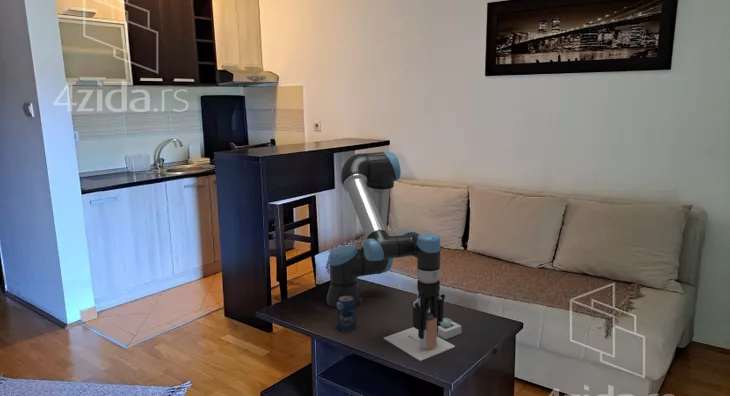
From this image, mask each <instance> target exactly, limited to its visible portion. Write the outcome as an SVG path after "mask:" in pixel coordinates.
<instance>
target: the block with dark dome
mask: <svg viewBox="0 0 730 396" xmlns="http://www.w3.org/2000/svg"><path fill="white" fill-rule="evenodd" d="M425 329H426V330H427V349H430V348H432V347H435V346H437V337H438V336H437V318H435V317H433V313H430V312H427V318H426V324H425Z"/></svg>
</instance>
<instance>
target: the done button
mask: <svg viewBox="0 0 730 396" xmlns="http://www.w3.org/2000/svg"><path fill="white" fill-rule="evenodd" d="M451 321H452V319H451V318H449V317H443V321H442V322H440V324H441V325H440V326H441V327H443V328H445V329H447V328H450V327H451Z"/></svg>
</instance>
